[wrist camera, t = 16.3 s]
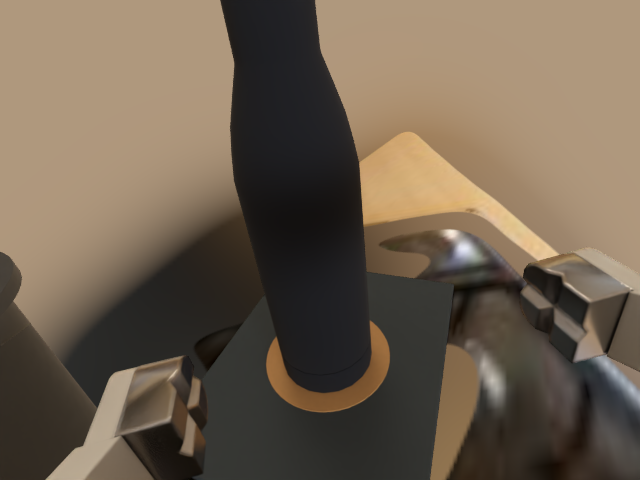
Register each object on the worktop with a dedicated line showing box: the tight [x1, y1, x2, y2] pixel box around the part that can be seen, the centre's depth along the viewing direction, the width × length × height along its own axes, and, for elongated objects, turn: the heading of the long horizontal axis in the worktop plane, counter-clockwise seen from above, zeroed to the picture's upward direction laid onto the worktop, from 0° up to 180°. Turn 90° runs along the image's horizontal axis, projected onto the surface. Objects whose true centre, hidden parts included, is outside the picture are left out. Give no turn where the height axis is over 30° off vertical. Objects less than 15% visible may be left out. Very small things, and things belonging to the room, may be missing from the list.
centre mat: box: [192, 272, 454, 480], centre depth 26 cm, size 16×20×1 cm
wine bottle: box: [220, 0, 372, 393], centre depth 18 cm, size 6×6×30 cm
